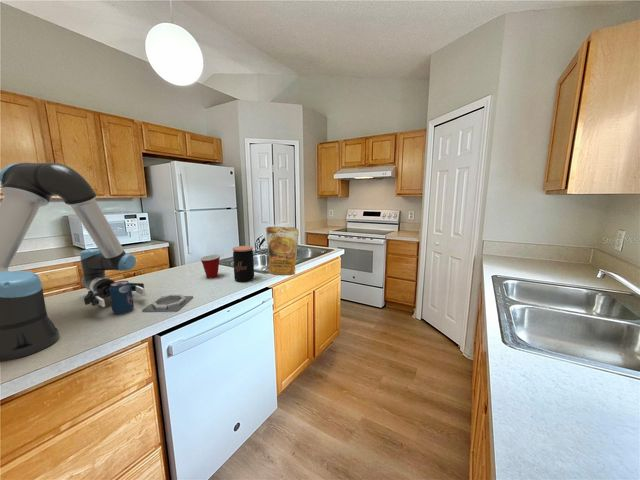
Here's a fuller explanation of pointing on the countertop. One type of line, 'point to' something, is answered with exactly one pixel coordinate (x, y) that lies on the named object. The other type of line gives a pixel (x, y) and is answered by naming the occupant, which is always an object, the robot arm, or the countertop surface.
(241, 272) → the coffee jar
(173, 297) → the mount plate
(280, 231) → the pancake mix bag
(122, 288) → the soda can
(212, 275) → the plastic cup
